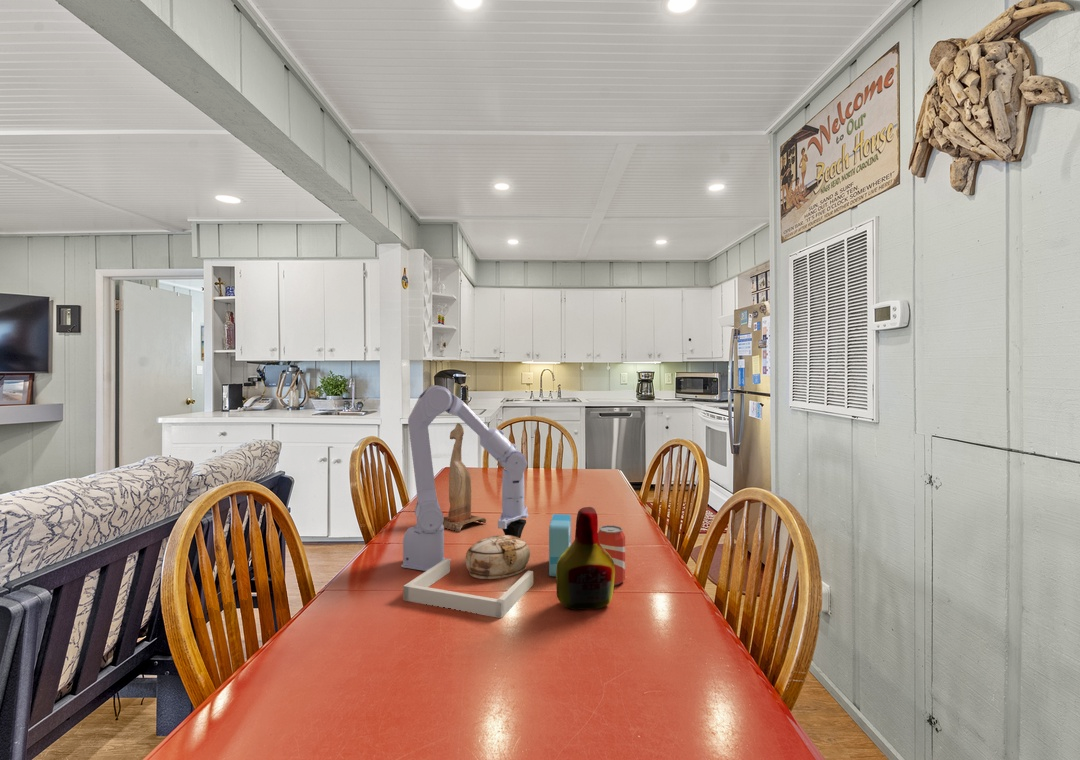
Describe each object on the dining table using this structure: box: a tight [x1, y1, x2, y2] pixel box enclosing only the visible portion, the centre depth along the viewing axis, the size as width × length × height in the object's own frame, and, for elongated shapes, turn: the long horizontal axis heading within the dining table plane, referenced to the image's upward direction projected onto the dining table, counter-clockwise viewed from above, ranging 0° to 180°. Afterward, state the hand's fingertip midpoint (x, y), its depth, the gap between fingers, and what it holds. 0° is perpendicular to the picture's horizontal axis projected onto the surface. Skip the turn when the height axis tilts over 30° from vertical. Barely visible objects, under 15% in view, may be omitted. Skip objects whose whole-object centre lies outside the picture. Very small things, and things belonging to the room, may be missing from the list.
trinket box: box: [465, 534, 531, 580], centre depth 125 cm, size 13×15×8 cm
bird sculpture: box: [442, 422, 487, 533], centre depth 161 cm, size 11×12×32 cm
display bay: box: [402, 558, 534, 619], centre depth 112 cm, size 22×17×3 cm
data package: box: [548, 513, 572, 578], centre depth 125 cm, size 12×4×12 cm, turn 174°
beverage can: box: [598, 524, 626, 586], centre depth 118 cm, size 6×6×12 cm
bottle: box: [555, 506, 615, 610], centre depth 105 cm, size 12×6×20 cm, turn 90°
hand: (513, 548), depth 134 cm, fingers closed
